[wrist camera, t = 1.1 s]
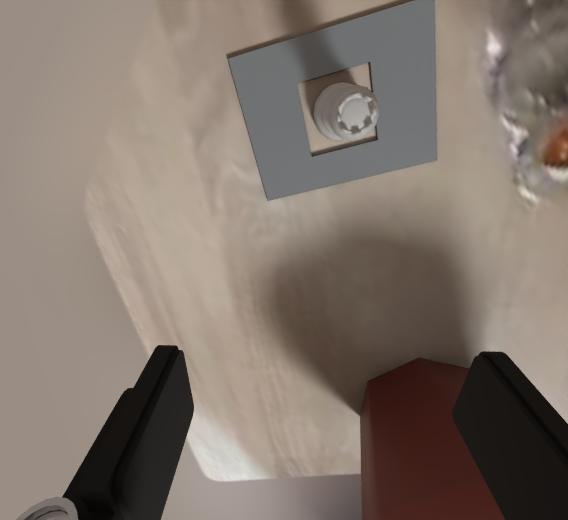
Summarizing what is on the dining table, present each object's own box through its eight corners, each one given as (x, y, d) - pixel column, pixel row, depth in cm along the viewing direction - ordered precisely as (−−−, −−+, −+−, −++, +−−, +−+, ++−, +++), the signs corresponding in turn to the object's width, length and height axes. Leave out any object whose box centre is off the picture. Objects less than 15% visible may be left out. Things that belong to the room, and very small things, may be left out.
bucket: (543, 368, 39) (881, 719, 16) (457, 461, 49) (595, 759, 26) (366, 328, 36) (481, 674, 14) (314, 435, 46) (333, 735, 24)
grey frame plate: (432, -5, 22) (434, -6, 22) (435, 159, 27) (437, 160, 27) (228, 59, 24) (227, 58, 24) (268, 200, 29) (267, 200, 29)
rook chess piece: (302, 112, 26) (305, 113, 18) (342, 69, 24) (363, 53, 17) (335, 151, 27) (350, 167, 20) (375, 113, 25) (407, 115, 18)
